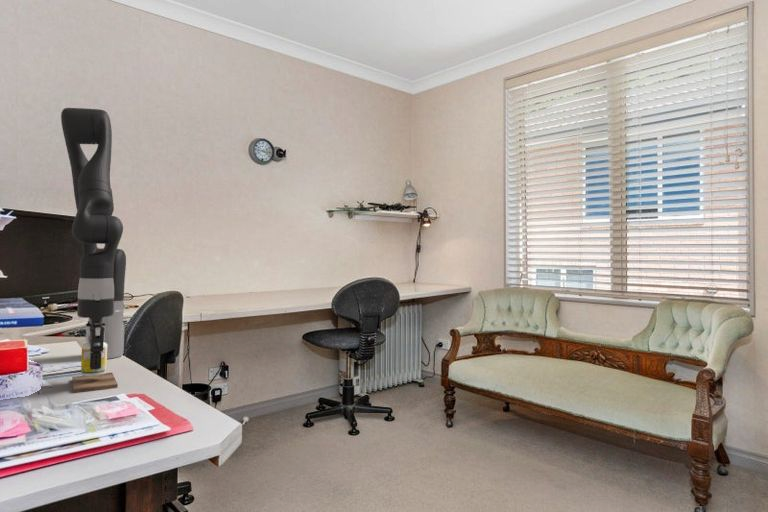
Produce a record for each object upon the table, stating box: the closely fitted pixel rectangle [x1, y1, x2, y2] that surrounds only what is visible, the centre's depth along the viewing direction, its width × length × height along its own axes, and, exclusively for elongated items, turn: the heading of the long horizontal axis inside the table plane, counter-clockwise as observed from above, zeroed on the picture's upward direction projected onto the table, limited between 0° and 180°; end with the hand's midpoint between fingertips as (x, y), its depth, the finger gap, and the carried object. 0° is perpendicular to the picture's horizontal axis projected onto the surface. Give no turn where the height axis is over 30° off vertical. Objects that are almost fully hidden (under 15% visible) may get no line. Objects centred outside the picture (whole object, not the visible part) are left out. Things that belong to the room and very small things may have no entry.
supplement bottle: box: [80, 334, 108, 377], centre depth 113 cm, size 5×5×10 cm
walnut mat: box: [71, 372, 118, 394], centre depth 113 cm, size 13×9×1 cm, turn 35°
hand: (94, 366), depth 113 cm, fingers closed on supplement bottle, 5 cm apart
